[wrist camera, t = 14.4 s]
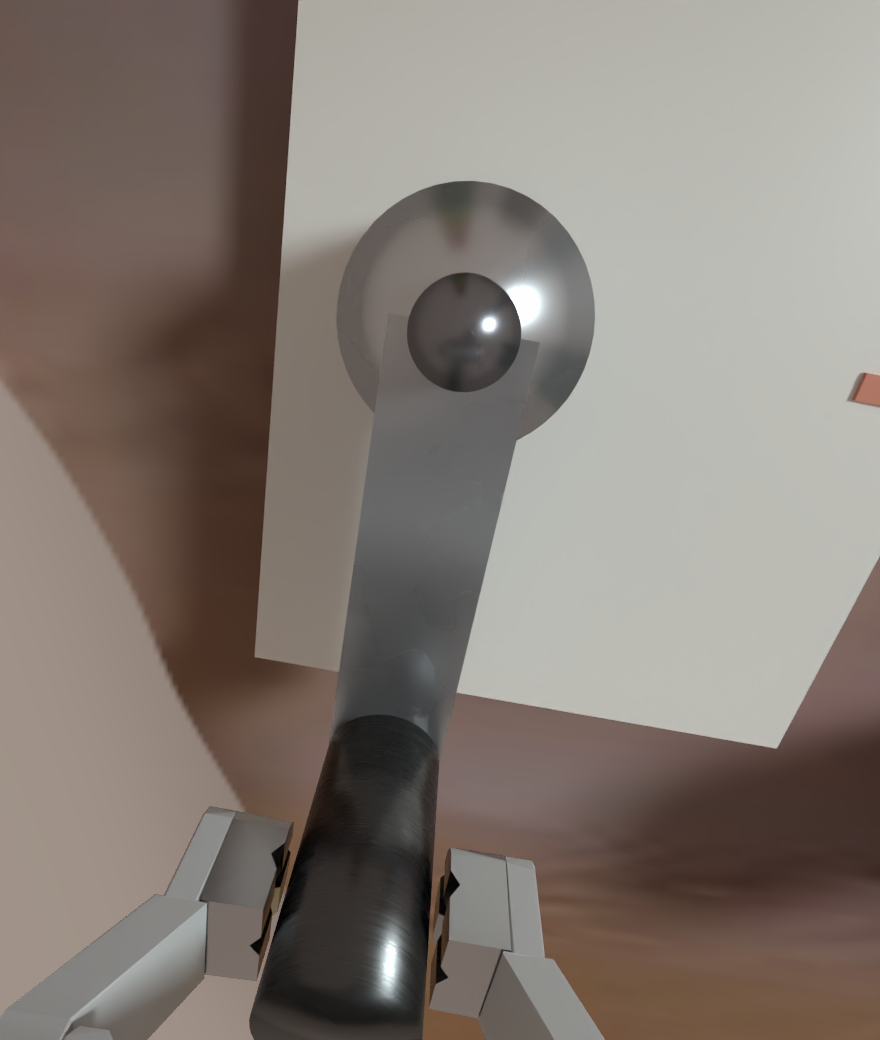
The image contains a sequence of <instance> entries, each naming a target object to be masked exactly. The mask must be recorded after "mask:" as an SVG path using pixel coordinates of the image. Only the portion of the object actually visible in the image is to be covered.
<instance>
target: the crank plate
mask: <svg viewBox="0 0 880 1040" xmlns="http://www.w3.org/2000/svg"><path fill="white" fill-rule="evenodd" d="M454 181H479V182H487V183H493V184H497V185H500V186H504V187H507V188H510V189H513V190H515V191H517V192H519V193H521V194H524V195H526V196H528V197H529V198H531V199H532V200H534V201H535V202H537V203H539V204H540V205H542V206H543V207H544V208H545V209H546V210H547V211H549V212H550V213H551V214H552V215H553V216H554V217H556V219H557V220H558V221H559V222H560V223H561V224H562V225H563V227H564V228H565V229H566V230H567V231H568V233H569V234H570V236H571V237H572V239H573V240H574V242H575V243H576V245H577V247H578V249H579V251H580V253H581V255H582V257H583V259H584V261H585V263H586V266H587V270H588V273H589V276H590V279H591V283H592V289H593V295H594V304H595V325H594V336H593V341H592V346H591V350H590V354H589V357H588V360H587V363H586V366H585V369H584V371H583V373H582V375H581V377H580V379H579V381H578V383H577V385H576V386H575V388H574V390H573V391H572V393H571V394H570V396H569V397H568V399H567V400H566V401H565V402H564V404H563V405H562V406H561V407H560V408H559V410H558V411H557V412H556V413H555V414H554V415H553V416H551V417H550V418H549V419H548V420H547V421H546V422H545V423H544V424H542V425H541V426H540V427H538V428H537V429H535V430H534V431H533V432H531V433H529V434H527V435H526V436H524V437H522V438H520V439H518V440H517V441H516V445H515V449H514V453H513V458H512V462H511V466H510V470H509V474H508V479H507V483H506V487H505V491H504V495H503V500H502V504H501V508H500V512H499V516H498V520H497V525H496V529H495V533H494V537H493V541H492V546H491V550H490V554H489V558H488V562H487V567H486V571H485V575H484V579H483V583H482V587H481V592H480V596H479V600H478V604H477V608H476V613H475V617H474V621H473V625H472V629H471V634H470V638H469V642H468V646H467V650H466V654H465V659H464V663H463V667H462V671H461V675H460V680H459V684H458V688H457V693H463V694H468V695H474V696H480V697H485V698H491V699H497V700H503V701H508V702H514V703H520V704H525V705H531V706H537V707H543V708H548V709H554V710H560V711H565V712H571V713H577V714H582V715H588V716H594V717H600V718H605V719H611V720H617V721H622V722H628V723H634V724H639V725H645V726H651V727H657V728H662V729H668V730H674V731H679V732H685V733H691V734H697V735H702V736H708V737H714V738H719V739H725V740H731V741H736V742H742V743H748V744H754V745H759V746H765V747H771V748H776V749H777V747H778V745H779V744H780V742H781V740H782V738H783V736H784V734H785V732H786V730H787V729H788V727H789V725H790V723H791V721H792V719H793V717H794V715H795V714H796V712H797V710H798V708H799V706H800V704H801V702H802V700H803V699H804V697H805V695H806V693H807V691H808V689H809V687H810V685H811V684H812V682H813V680H814V678H815V676H816V674H817V672H818V670H819V669H820V667H821V665H822V663H823V661H824V659H825V657H826V655H827V654H828V652H829V650H830V648H831V646H832V644H833V642H834V640H835V639H836V637H837V635H838V633H839V631H840V629H841V627H842V625H843V624H844V622H845V620H846V618H847V616H848V614H849V612H850V610H851V609H852V607H853V605H854V603H855V601H856V599H857V597H858V595H859V594H860V592H861V590H862V588H863V586H864V584H865V582H866V580H867V579H868V577H869V575H870V573H871V571H872V569H873V567H874V565H875V564H876V562H877V560H878V558H879V556H880V0H299V1H298V16H297V30H296V45H295V60H294V75H293V90H292V105H291V120H290V135H289V150H288V165H287V180H286V194H285V209H284V224H283V239H282V254H281V269H280V284H279V299H278V314H277V329H276V344H275V359H274V373H273V388H272V403H271V418H270V433H269V448H268V463H267V478H266V493H265V508H264V523H263V537H262V552H261V567H260V582H259V597H258V612H257V627H256V642H255V657H257V658H263V659H269V660H274V661H280V662H286V663H292V664H297V665H303V666H309V667H314V668H320V669H326V670H332V671H337V672H339V667H340V660H341V653H342V645H343V638H344V631H345V623H346V616H347V609H348V602H349V594H350V587H351V580H352V573H353V565H354V558H355V551H356V544H357V536H358V529H359V522H360V514H361V507H362V500H363V493H364V485H365V478H366V471H367V464H368V456H369V449H370V442H371V435H372V427H373V420H374V413H373V412H372V410H371V409H370V408H369V407H368V406H367V404H366V403H365V402H364V401H363V399H362V398H361V396H360V395H359V393H358V392H357V390H356V389H355V387H354V385H353V383H352V381H351V379H350V377H349V375H348V373H347V371H346V368H345V365H344V362H343V359H342V356H341V351H340V347H339V342H338V335H337V323H336V317H337V301H338V295H339V289H340V284H341V281H342V278H343V274H344V271H345V268H346V266H347V263H348V261H349V259H350V257H351V254H352V252H353V250H354V249H355V247H356V246H357V244H358V242H359V241H360V239H361V237H362V236H363V235H364V233H365V232H366V231H367V230H368V229H369V227H370V226H371V225H372V224H373V222H374V221H375V220H377V219H378V218H379V217H380V216H381V215H382V214H383V213H384V212H385V211H386V210H387V209H389V208H390V207H392V206H393V205H394V204H396V203H397V202H399V201H400V200H402V199H403V198H405V197H407V196H409V195H411V194H413V193H415V192H417V191H419V190H422V189H425V188H428V187H431V186H434V185H437V184H443V183H448V182H454Z"/></svg>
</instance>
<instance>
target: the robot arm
mask: <svg viewBox="0 0 880 1040" xmlns="http://www.w3.org/2000/svg"><path fill="white" fill-rule="evenodd" d="M293 824H294V822H290V821H285V820H280V819H275V818H269V817H264V816H259V815H254V814H249V813H244V812H239V811H234V810H228V809H222V808H217V807H211V806H210V807H209V808H208V809H207V811H206V812H205V813H204V814H203V816H202V818H201V820H200V822H199V824H198V827H197V828H196V831H195V833H194V834H193V837H192V839H191V841H190V843H189V845H188V847H187V849H186V851H185V853H184V855H183V857H182V859H181V861H180V863H179V866H178V868H177V869H176V872H175V874H174V876H173V878H172V880H171V882H170V884H169V886H168V888H167V890H166V892H165V894H164V895H158V894H155V895H153V896H152V897H151V898H150V899H148V900H147V901H146V902H145V903H143V904H142V905H141V906H139V907H138V908H137V909H135V910H134V911H133V912H132V913H130V914H129V915H128V916H126V917H125V918H124V919H122V920H121V921H120V922H118V923H117V924H116V925H115V926H114V927H112V928H111V929H109V930H108V931H107V932H106V933H104V934H103V935H102V936H100V937H99V938H98V939H97V940H95V941H94V942H93V943H91V944H90V945H89V946H88V947H86V948H85V949H84V950H82V951H81V952H80V953H78V954H77V955H76V956H74V957H73V958H72V959H71V960H70V961H68V962H67V963H65V964H64V965H63V966H62V967H60V968H59V969H58V970H56V971H55V972H54V973H52V974H51V975H50V976H49V977H47V978H46V979H45V980H44V981H42V982H41V983H40V984H38V985H37V986H36V987H34V988H33V989H32V990H31V991H29V992H28V993H27V994H25V995H24V996H23V997H22V998H20V999H19V1000H18V1001H16V1002H15V1003H14V1004H12V1005H11V1006H10V1007H8V1008H7V1009H6V1010H5V1011H4V1013H3V1014H2V1016H1V1017H0V1040H147V1039H148V1038H149V1037H150V1036H151V1035H152V1034H153V1033H154V1032H155V1031H156V1030H157V1029H158V1027H159V1026H160V1025H161V1024H162V1023H163V1022H164V1021H165V1020H166V1019H167V1018H168V1017H169V1016H170V1015H171V1014H172V1012H173V1011H174V1010H175V1009H176V1008H177V1007H178V1006H179V1005H180V1004H181V1003H182V1002H183V1000H185V998H186V997H187V996H188V995H189V994H190V993H191V992H192V991H193V990H194V989H195V988H196V987H197V985H198V984H199V983H200V982H201V981H202V980H203V979H204V974H205V975H213V976H221V977H229V978H237V979H245V980H252V981H257V978H258V974H259V971H260V968H261V964H262V961H263V958H264V955H265V951H266V948H267V945H268V941H269V937H270V929H271V920H272V916H273V915H274V914H275V913H276V912H277V911H278V908H279V904H280V901H281V897H282V894H283V890H284V885H285V881H286V877H287V872H288V867H289V861H290V853H291V852H290V851H289V850H288V849H289V845H290V842H291V839H292V835H293ZM433 939H434V941H435V942H436V948H435V951H434V955H433V959H432V963H431V973H430V994H429V1009H433V1010H438V1011H443V1012H449V1013H454V1014H459V1015H464V1016H469V1017H474V1018H479V1020H478V1022H479V1025H480V1027H481V1029H482V1032H483V1034H484V1036H485V1039H486V1040H605V1039H604V1038H603V1036H602V1035H601V1033H600V1031H599V1030H598V1028H597V1027H596V1025H595V1024H594V1022H593V1020H592V1019H591V1017H590V1016H589V1014H588V1013H587V1011H586V1010H585V1008H584V1006H583V1005H582V1003H581V1002H580V1000H579V999H578V997H577V996H576V994H575V992H574V991H573V989H572V988H571V986H570V985H569V983H568V982H567V980H566V978H565V977H564V975H563V974H562V972H561V971H560V969H559V967H558V966H557V964H556V963H555V961H554V960H553V959H549V958H545V955H544V946H543V937H542V928H541V919H540V910H539V901H538V892H537V883H536V874H535V867H534V865H533V863H532V861H530V860H524V859H518V858H512V857H503V855H498V854H491V853H485V852H478V851H472V850H465V849H458V848H452V847H450V848H449V850H448V853H447V856H446V860H445V875H444V876H442V877H441V878H440V883H439V887H438V891H437V897H436V903H435V910H434V921H433Z"/></svg>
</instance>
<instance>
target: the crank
mask: <svg viewBox="0 0 880 1040" xmlns="http://www.w3.org/2000/svg"><path fill="white" fill-rule="evenodd" d="M336 323H337V335H338V342H339V347H340V351H341V356H342V359H343V362H344V365H345V368H346V371H347V373H348V375H349V377H350V379H351V381H352V383H353V385H354V387H355V389H356V390H357V392H358V393H359V395H360V396H361V398H362V399H363V401H364V402H365V403H366V404H367V406H368V407H369V408H370V409H371V410H372V412H373V413H374V420H373V427H372V435H371V442H370V449H369V456H368V464H367V471H366V478H365V485H364V493H363V500H362V507H361V514H360V522H359V529H358V536H357V544H356V551H355V558H354V565H353V573H352V580H351V587H350V594H349V602H348V609H347V616H346V623H345V631H344V638H343V645H342V653H341V660H340V667H339V674H338V682H337V689H336V696H335V703H334V711H333V718H332V725H331V732H330V740H329V747H328V750H327V754H326V757H325V761H324V764H323V768H322V771H321V774H320V778H319V781H318V785H317V788H316V792H315V795H314V798H313V802H312V805H311V809H310V812H309V816H308V819H307V822H306V826H305V829H304V833H303V836H302V840H301V843H300V846H299V850H298V853H297V857H296V860H295V864H294V867H293V870H292V874H291V877H290V881H289V884H288V888H287V891H286V894H285V898H284V901H283V905H282V908H281V912H280V915H279V919H278V922H277V926H276V929H275V932H274V936H273V939H272V943H271V946H270V949H269V953H268V956H267V960H266V963H265V967H264V970H263V974H262V977H261V980H260V984H259V987H258V991H257V994H256V997H255V1001H254V1005H253V1008H252V1011H251V1015H250V1020H249V1022H250V1030H251V1034H252V1036H253V1038H254V1040H422V1036H423V1019H424V1003H425V987H426V970H427V954H428V937H429V921H430V905H431V888H432V872H433V856H434V839H435V823H436V807H437V790H438V774H439V763H440V759H441V755H442V751H443V747H444V742H445V738H446V734H447V730H448V726H449V721H450V717H451V713H452V709H453V705H454V701H455V696H456V692H457V688H458V684H459V680H460V675H461V671H462V667H463V663H464V659H465V654H466V650H467V646H468V642H469V638H470V634H471V629H472V625H473V621H474V617H475V613H476V608H477V604H478V600H479V596H480V592H481V587H482V583H483V579H484V575H485V571H486V567H487V562H488V558H489V554H490V550H491V546H492V541H493V537H494V533H495V529H496V525H497V520H498V516H499V512H500V508H501V504H502V500H503V495H504V491H505V487H506V483H507V479H508V474H509V470H510V466H511V462H512V458H513V453H514V449H515V445H516V441H517V440H518V439H520V438H522V437H524V436H526V435H527V434H529V433H531V432H533V431H534V430H535V429H537V428H538V427H540V426H541V425H542V424H544V423H545V422H546V421H547V420H548V419H549V418H550V417H551V416H553V415H554V414H555V413H556V412H557V411H558V410H559V408H560V407H561V406H562V405H563V404H564V402H565V401H566V400H567V399H568V397H569V396H570V394H571V393H572V391H573V390H574V388H575V386H576V385H577V383H578V381H579V379H580V377H581V375H582V373H583V371H584V369H585V366H586V363H587V360H588V357H589V354H590V350H591V346H592V341H593V336H594V325H595V304H594V295H593V289H592V283H591V279H590V276H589V273H588V270H587V266H586V263H585V261H584V259H583V257H582V255H581V253H580V251H579V249H578V247H577V245H576V243H575V242H574V240H573V239H572V237H571V236H570V234H569V233H568V231H567V230H566V229H565V228H564V227H563V225H562V224H561V223H560V222H559V221H558V220H557V219H556V217H554V216H553V215H552V214H551V213H550V212H549V211H547V210H546V209H545V208H544V207H543V206H542V205H540V204H539V203H537V202H535V201H534V200H532V199H531V198H529V197H528V196H526V195H524V194H521V193H519V192H517V191H515V190H513V189H510V188H507V187H504V186H500V185H497V184H493V183H487V182H479V181H454V182H448V183H443V184H437V185H434V186H431V187H428V188H425V189H422V190H419V191H417V192H415V193H413V194H411V195H409V196H407V197H405V198H403V199H402V200H400V201H399V202H397V203H396V204H394V205H393V206H392V207H390V208H389V209H387V210H386V211H385V212H384V213H383V214H382V215H381V216H380V217H379V218H378V219H377V220H375V221H374V222H373V224H372V225H371V226H370V227H369V229H368V230H367V231H366V232H365V233H364V235H363V236H362V237H361V239H360V241H359V242H358V244H357V246H356V247H355V249H354V250H353V252H352V254H351V257H350V259H349V261H348V263H347V266H346V268H345V271H344V274H343V278H342V281H341V284H340V289H339V295H338V301H337V317H336Z"/></svg>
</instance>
